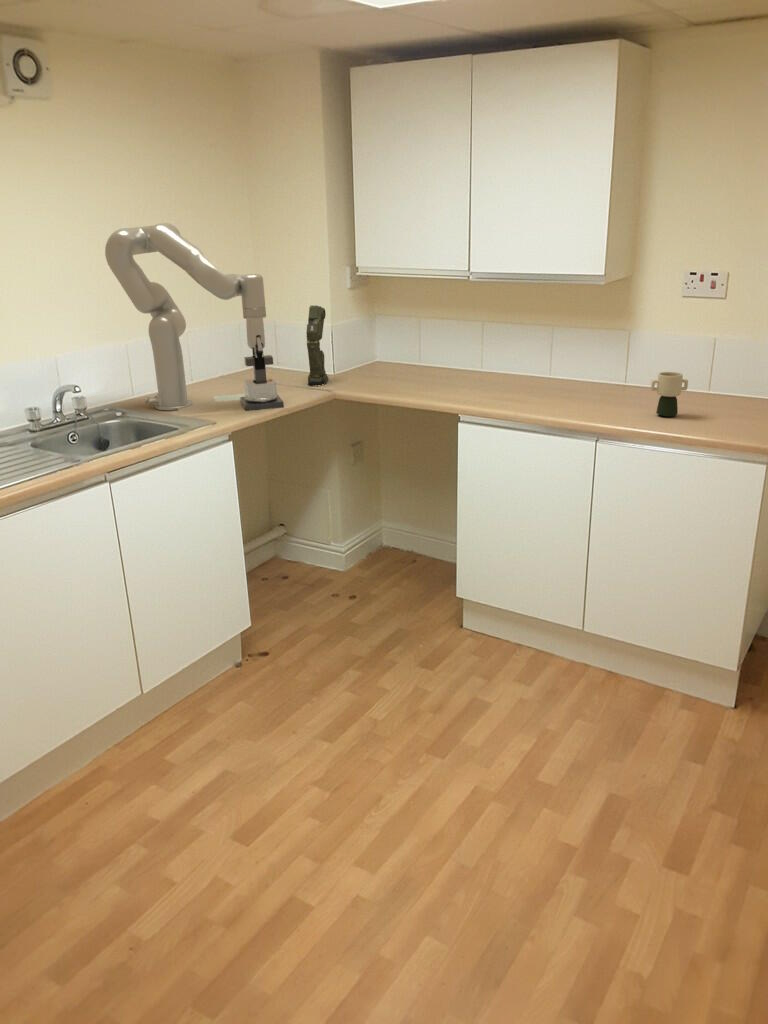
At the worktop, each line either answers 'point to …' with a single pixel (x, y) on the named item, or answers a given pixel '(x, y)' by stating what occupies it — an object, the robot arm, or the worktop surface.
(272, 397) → the grey boxy piece
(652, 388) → the character mug
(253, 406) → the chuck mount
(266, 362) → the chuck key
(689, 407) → the worktop surface
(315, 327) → the mechanical leg
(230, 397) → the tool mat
